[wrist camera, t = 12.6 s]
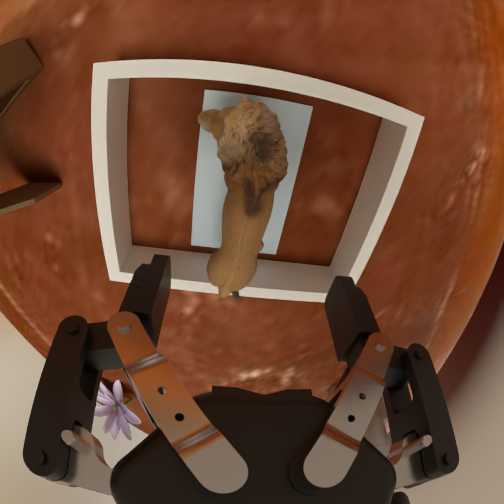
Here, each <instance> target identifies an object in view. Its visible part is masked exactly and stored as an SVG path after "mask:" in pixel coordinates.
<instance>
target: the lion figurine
mask: <svg viewBox="0 0 504 504" xmlns="http://www.w3.org/2000/svg"><path fill="white" fill-rule="evenodd" d="M277 116H278V115H277V113H276V112H273V111H271V110H270V109H269V108H268V107H267V105H265V104H263V102H254V101H251V99H250V97H249V96H248V95H246V94H245V95H243V96H242V98H241V101H239V102H238V103H237V104H236V106H233V107H226V108H223V109H222V110H221V111H220V110H218V109H209V110H204V111H202V112H201V113H200V114H199V116H198V123H199V124H201V127H202V128H203V130H205V131H207V132H210V133H212V135H213V137H214V138H215V139H216V141H217V146H218V150H217V157H218V158H219V159H220V160H221V163H222V169H223V171H224V172H225V174H224V181H225V184H226V186H227V188H228V192H227V195H226V197H225V201H224V205H223V211H222V244H221V247H220V248H219V249H218V250H217V251H215V252H213V253H212V254H211V256H210V259H209V261H208V263H207V274H208V279H209V281H210V283H211V284H212V285H213V286H216V287H218V290H219V291H218V292H219V295H220V297H222V298H224V297H227V296H228V295H229V294H230V293H232V295H233V297H234V298H235V299H240V296H239V291H238V290H241V289H243V288H245V287H246V286H247V285H248V284H249V283H250V281H251V280H252V279H253V277H254V275H255V273H256V270H257V264H258V262H257V254H258V253H259V252H260V251H261V250H262V249H263V248H264V243H263V241H262V238H263V236H264V233H265V230H266V228H267V225H268V223H269V220H270V217H271V213H272V209H273V203H274V192H275V191H276V190H277V188H278V186H279V183H280V182H281V181H282V180H283V179H284V177H285V176H286V175H287V168H288V166H289V164H288V162H287V157H286V155H287V153H288V151H287V147H286V146H285V144H286V141H285V138H284V136H283V133H282V131H281V130H280V127H281V125H280V123H279V120H278V118H277Z"/></svg>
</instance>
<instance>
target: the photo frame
mask: <svg viewBox="0 0 504 504" xmlns="http://www.w3.org/2000/svg"><path fill="white" fill-rule="evenodd" d="M43 68H44V66H43V65H42V63H41V62H40V60H39V59H38V58H37V56H36V55H35V54H34V52H33V51H32V50H31V48H30V47H29V46H28V44H27V43H26V41H25V40H24V39H23V37H22V38H19V39H16V40H13V41H11V42H8V43H6V44H3V45H1V46H0V120H1V119H2V118H3V116H4V115H5V113H6V112H7V111H8V109H9V108H10V107H11V105H12V104H13V103H14V102H15V100H16V99H17V98H18V97H19V95H20V94H21V93H22V92H23V90H24V89H25V88H26V87H27V86H28V84H29V83H30V82H31V81H32V80H33V79H34V78H35V77H36V75H37V74H38V73H39V72H40V71H41V70H42V69H43ZM59 188H61V183H28V184H26V185H23V186H20V187H18V188H15V189H13V190H10V191H7V192H5V193H3V194H0V215H1V214H4V213H7V212H10V211H13V210H16V209H19V208H22V207H25V206H28V205H32V204H35V203H37V202H38V201H40V200H41V199H43V198H45V197H46V196H48V195H49V194H51V193H53V192H54V191H56V190H58V189H59Z"/></svg>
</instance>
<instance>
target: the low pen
mask: <svg viewBox="0 0 504 504" xmlns="http://www.w3.org/2000/svg"><path fill="white" fill-rule="evenodd" d="M139 77H167V78H192V79H206V80H217V81H227V82H235V83H243V84H250V85H257V86H263V87H269V88H275V89H280V90H285V91H290V92H295V93H299V94H304V95H308V96H312V97H317V98H321V99H324V100H328V101H332V102H336V103H339V104H343V105H346V106H350V107H353V108H356V109H359V110H362V111H365V112H368V113H371V114H374V115H377V116H380V117H382V121H381V124H380V128H379V131H378V134H377V138H376V141H375V144H374V147H373V150H372V154H371V157H370V160H369V163H368V166H367V169H366V172H365V175H364V178H363V181H362V183H361V186H360V189H359V192H358V195H357V198H356V200H355V203H354V206H353V208H352V211H351V214H350V217H349V219H348V222H347V224H346V227H345V230H344V232H343V235H342V237H341V240H340V242H339V245H338V247H337V250H336V252H335V255H334V257H333V259H332V262H331V264H330V267H329V266H319V265H310V264H300V263H291V262H281V261H272V260H263V259H257V262H258V264H257V270H256V273H255V275H254V277H253V279H252V280H251V281H250V283H249V284H248V285H247V286H246V287H245V288H243V289H241V290H238V291H239V296H246V297H258V298H270V299H282V300H296V301H311V302H325V299H326V296H327V294H328V292H329V289H330V287H331V285H332V283H333V281H334V279H335V277H336V276H337V275H339V276H349V277H352V278H353V281H354V283H355V285H356V283H357V281H358V279H359V277H360V275H361V274H362V272H363V270H364V268H365V266H366V264H367V262H368V260H369V257H370V255H371V253H372V251H373V249H374V247H375V245H376V243H377V241H378V238H379V236H380V234H381V232H382V230H383V227H384V225H385V223H386V221H387V218H388V216H389V214H390V211H391V209H392V207H393V204H394V202H395V199H396V197H397V195H398V192H399V190H400V187H401V184H402V182H403V179H404V177H405V174H406V171H407V169H408V166H409V163H410V160H411V158H412V155H413V152H414V149H415V146H416V143H417V140H418V137H419V134H420V131H421V128H422V124H423V121H424V118H425V117H423V116H420V115H418V114H416V113H414V112H412V111H409V110H407V109H405V108H402V107H400V106H397V105H395V104H392V103H390V102H387V101H385V100H382V99H379V98H377V97H374V96H371V95H368V94H365V93H362V92H360V91H356V90H353V89H350V88H347V87H344V86H340V85H337V84H334V83H330V82H326V81H323V80H319V79H315V78H311V77H307V76H303V75H298V74H294V73H289V72H284V71H279V70H274V69H268V68H262V67H256V66H249V65H242V64H234V63H225V62H214V61H201V60H180V59H144V60H124V61H111V62H101V63H93V77H92V99H91V134H92V158H93V172H94V184H95V193H96V202H97V210H98V217H99V224H100V231H101V237H102V243H103V248H104V254H105V259H106V264H107V269H108V273H109V278H110V280H113V281H120V282H127V283H130V282H131V280H132V277H133V275H134V272H135V270H136V269H137V268H138V267H139V266H140V265H141V264H143V263H144V264H151V261H152V258H153V256H154V254H160V255H168V256H170V257H171V288H172V289H180V290H188V291H197V292H206V293H216V294H219V292H218V291H219V290H218V287H216V286H213V285H212V284H211V283H210V281H209V279H208V274H207V263H208V261H209V259H210V256H211V254H208V253H199V252H190V251H181V250H172V249H163V248H154V247H145V246H137V245H132V237H131V226H130V214H129V198H128V176H127V118H128V97H129V83H130V78H139ZM243 95H245V94H243V93H236V92H227V91H218V90H207V89H205V93H204V101H203V109H202V111H204V110H209V109H218V110H220V111H221V110H222V109H223V108H226V107H233V106H236V104H237V103H238V102H239V101H241V98H242V96H243ZM246 95H248V96H249V97H250V99H251V101H254V102H263V104H265V105H267V107H268V108H269V109H270V110H271V111H273V112H276V113H277V115H278V116H277V118H278V120H279V123H280V125H281V127H280V130H281V131H282V133H283V136H284V138H285V141H286V144H285V146H286V147H287V151H288V153H287V155H286V157H287V162H288V164H289V166H288V168H287V175H286V176H285V177H284V179H283V180H282V181H281V182H280V183H279V186H278V188H277V190H276V191H275V192H274V203H273V209H272V213H271V217H270V220H269V223H268V225H267V228H266V230H265V233H264V236H263V238H262V241H263V243H264V248H263V249H262V250H261V251H260V252H259V253H266V254H275V255H276V252H277V248H278V244H279V240H280V237H281V233H282V229H283V225H284V222H285V218H286V214H287V210H288V206H289V202H290V199H291V195H292V191H293V187H294V183H295V179H296V175H297V171H298V167H299V163H300V159H301V155H302V151H303V147H304V143H305V139H306V135H307V130H308V126H309V122H310V118H311V114H312V109H313V106H309V105H304V104H300V103H295V102H290V101H285V100H280V99H275V98H269V97H263V96H257V95H250V94H246ZM217 150H218V146H217V141H216V139H215V138H214V137H213V135H212V133H210V132H207V131H205V130H203V128H202V127H201V126H200V135H199V144H198V154H197V165H196V177H195V189H194V203H193V219H192V238H191V245H194V246H203V247H212V248H220V247H221V244H222V211H223V205H224V201H225V197H226V195H227V192H228V188H227V186H226V184H225V181H224V174H225V172H224V171H223V169H222V163H221V160H220V159H219V158H218V157H217ZM229 295H232V293H230V294H229Z"/></svg>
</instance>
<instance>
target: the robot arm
mask: <svg viewBox="0 0 504 504" xmlns="http://www.w3.org/2000/svg"><path fill="white" fill-rule="evenodd" d="M170 288H171V257H170V256H168V255H160V254H154V256H153V258H152V261H151V264H144V263H143V264H141V265H140V266H139V267H138V268H137V269H136V270H135V272H134V275H133V277H132V280H131V282H130V284H129V287H128V289H127V292H126V294H125V297H124V299H123V302H122V304H121V307H120V310H119V312H118V313H115V314H114V315H112V316H111V317H110V319H109V320H108V321H105V322H100V323H89V324H88V323H87V321H86V320H85V319H84V318H83V317H81V316H77V315H74V316H69V317H67V318H65V319H64V320H63V321H62V322H61V323H60V325H59V327H58V330H57V332H56V335H55V337H54V340H53V342H52V345H51V348H50V351H49V353H48V356H47V359H46V362H45V365H44V368H43V371H42V374H41V378H40V381H39V384H38V388H37V391H36V395H35V398H34V402H33V406H32V410H31V414H30V418H29V422H28V427H27V432H26V437H25V442H24V448H23V458H24V462H25V464H26V465H27V467H28V468H29V469H30V471H32V472H33V473H34V474H36V475H38V476H41V477H44V478H45V479H47V480H49V481H52V482H55V483H58V484H61V485H67V486H70V487H82V488H85V489H88V490H92V491H96V492H100V493H103V494H107V495H112V496H113V498H114V499H115V501H116V503H117V504H410V503H409V499H408V497H407V495H406V494H405V493H403V492H395V493H394V490H395V489H397V488H400V487H403V488H412V487H415V486H418V485H421V484H423V483H426V482H429V481H431V480H434V479H437V478H439V477H442V476H444V475H446V474H449V473H451V472H453V471H454V470H455V469H456V467H457V465H458V463H459V454H458V449H457V445H456V440H455V436H454V432H453V428H452V424H451V420H450V417H449V413H448V410H447V406H446V402H445V399H444V396H443V393H442V389H441V386H440V383H439V380H438V377H437V374H436V371H435V368H434V366H433V363H432V360H431V357H430V355H429V352H428V351H427V349H426V348H425V347H423V346H422V345H420V344H416V343H415V344H411V345H410V346H409V347H408V349H404V348H400V347H397V346H394V345H393V342H392V341H391V339H390V338H389V337H388V336H387V335H385V334H383V333H381V332H380V330H379V327H378V325H377V322H376V319H375V317H374V314H373V312H372V311H371V307H370V304H369V302H368V300H367V297H366V295H365V294H364V293H363V291H362V290H361V289H360V288H359V287H356V286H355V283H354V281H353V278H352V277H349V276H339V275H337V276H336V277H335V279H334V281H333V283H332V285H331V287H330V289H329V292H328V294H327V296H326V299H325V311H326V315H327V318H328V322H329V326H330V330H331V334H332V338H333V342H334V346H335V350H336V354H337V358H338V362H342V361H347V366H346V368H345V369H344V371H343V373H342V375H341V377H340V378H339V380H338V382H337V384H335V385H334V386H332V387H331V388H330V389H329V390H328V398H327V400H326V401H324V400H322V399H320V398H317V397H315V396H312V391H311V389H288V390H284V391H280V392H275V393H271V394H266V395H262V394H258V393H255V392H251V391H247V390H244V389H240V388H235V387H222V386H212V392H208V393H203V394H200V395H197V396H195V397H193V398H192V397H191V395H190V394H189V393H188V391H187V390H186V388H185V387H184V385H183V384H182V382H181V381H180V379H179V378H178V376H177V375H176V373H175V372H174V370H173V369H172V367H171V366H170V364H169V363H168V361H167V360H166V358H165V357H164V356H163V355H160V354H159V353H158V351H157V350H156V348H157V343H158V339H159V334H160V330H161V326H162V322H163V318H164V313H165V309H166V305H167V301H168V297H169V294H170ZM119 368H122V369H123V371H124V373H125V375H126V377H127V379H128V381H129V383H130V384H131V386H132V388H133V390H134V392H135V394H136V396H137V397H138V399H139V401H140V403H141V405H142V407H143V409H144V411H145V412H146V414H147V416H148V417H149V419H150V421H151V422H152V424H153V426H154V427H155V430H154V431H153V432H152V433H151V434H150V435H149V436H148V437H146V438H145V439H144V440H143V441H142V442H141V443H140V444H138V445H137V446H136V447H135V448H134V449H133V450H131V451H130V452H129V453H128V454H127V455H126V456H124V457H123V458H122V459H121V460H120V461H119V462H118V463H117V464H116V465H115V467H114V468H110V467H109V466H108V465H107V464H106V462H105V460H104V456H103V447H102V445H101V443H100V442H99V440H98V439H97V438H96V437H94V436H93V435H92V434H91V430H92V423H93V418H94V412H95V406H96V401H97V396H98V391H99V386H100V381H101V377H102V372H103V370H108V369H119ZM408 383H410V386H411V390H412V394H413V400H411V396H410V392H409V389H408V385H407V384H408ZM382 393H383V398H384V401H383V398H382ZM384 403H385V405H384ZM385 407H386V409H385ZM387 421H388V422H389V428H390V433H391V438H392V446H391V448H390V445H389V441H388V436H387V432H386V427H385V423H386V422H387Z"/></svg>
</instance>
